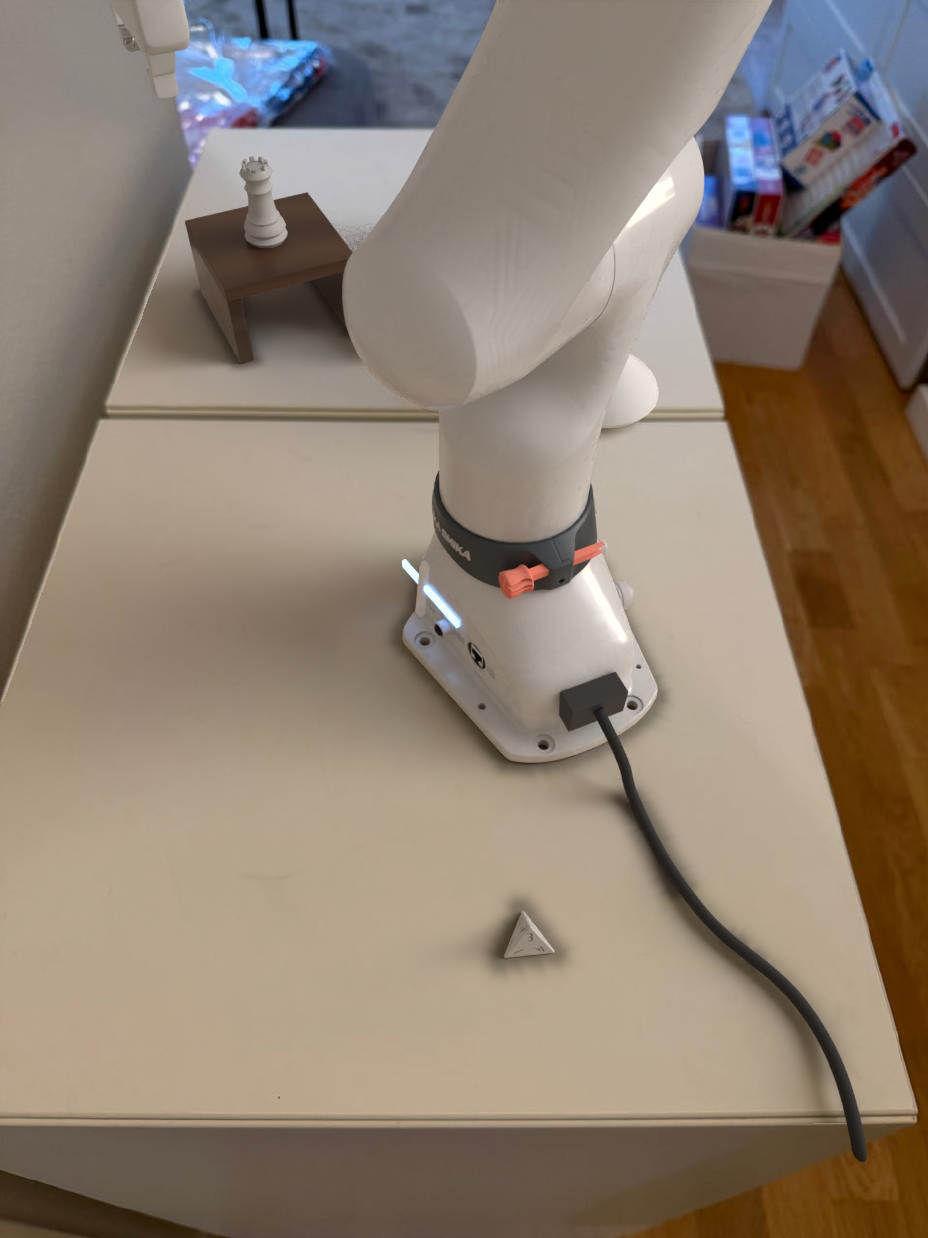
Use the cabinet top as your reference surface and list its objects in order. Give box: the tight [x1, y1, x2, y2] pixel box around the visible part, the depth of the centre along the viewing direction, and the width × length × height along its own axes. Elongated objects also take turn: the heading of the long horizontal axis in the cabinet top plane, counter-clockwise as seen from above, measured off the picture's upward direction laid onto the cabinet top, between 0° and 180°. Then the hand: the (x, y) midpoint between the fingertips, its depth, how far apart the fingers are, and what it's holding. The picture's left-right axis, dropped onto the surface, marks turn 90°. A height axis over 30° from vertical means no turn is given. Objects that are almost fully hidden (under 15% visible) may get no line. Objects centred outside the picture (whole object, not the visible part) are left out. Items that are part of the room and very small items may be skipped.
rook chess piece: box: [238, 155, 288, 248], centre depth 94 cm, size 4×4×8 cm
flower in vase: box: [601, 353, 659, 429], centre depth 86 cm, size 13×11×25 cm
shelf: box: [184, 191, 354, 365], centre depth 100 cm, size 14×14×9 cm
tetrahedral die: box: [503, 910, 555, 959], centre depth 61 cm, size 4×3×3 cm
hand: (150, 70), depth 75 cm, fingers open, 8 cm apart
